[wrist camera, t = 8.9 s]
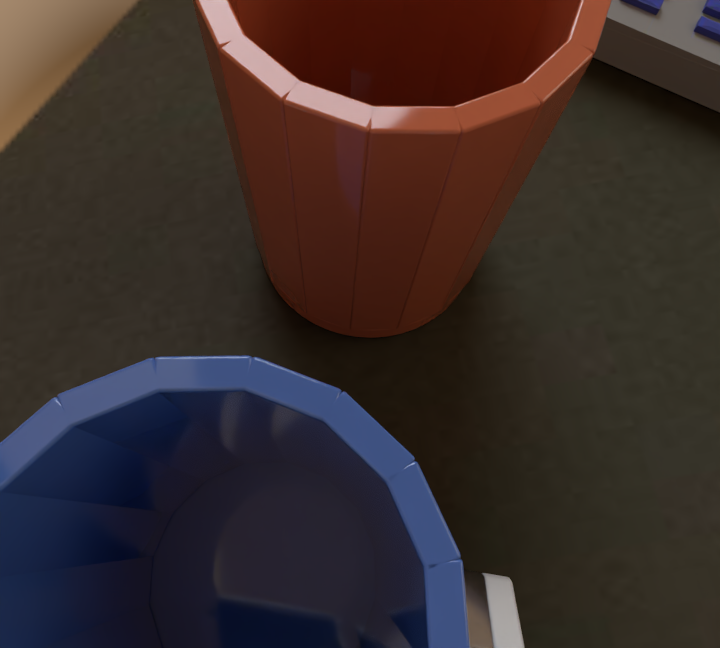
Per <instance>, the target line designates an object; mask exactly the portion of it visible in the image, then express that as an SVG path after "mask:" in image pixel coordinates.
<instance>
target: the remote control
mask: <svg viewBox="0 0 720 648" xmlns="http://www.w3.org/2000/svg"><path fill="white" fill-rule="evenodd" d="M593 58H596V59H598V60H600V61H602V62H605V63H607V64H609V65H612V66H614V67H616V68H619V69H621V70H623V71H625V72H628V73H630V74H632V75H635V76H637V77H639V78H642V79H644V80H646V81H648V82H651V83H653V84H655V85H658V86H660V87H662V88H664V89H667V90H669V91H671V92H674V93H676V94H678V95H681V96H683V97H685V98H687V99H690V100H692V101H694V102H697V103H699V104H701V105H703V106H706V107H708V108H710V109H713V110H715V111H717V112H720V0H612V2H611V5H610V8H609V11H608V14H607V18H606V21H605V24H604V27H603V30H602V34H601V37H600V40H599V43H598V46H597V50H596V53H595V55H594V56H593Z"/></svg>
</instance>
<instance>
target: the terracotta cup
mask: <svg viewBox="0 0 720 648" xmlns="http://www.w3.org/2000/svg"><path fill="white" fill-rule="evenodd" d="M611 2H612V0H193V4H194V7H195V11H196V15H197V19H198V23H199V27H200V30H201V34H202V38H203V42H204V46H205V50H206V53H207V57H208V61H209V65H210V69H211V73H212V76H213V80H214V84H215V88H216V92H217V96H218V100H219V103H220V107H221V111H222V115H223V119H224V123H225V126H226V130H227V134H228V138H229V142H230V146H231V149H232V153H233V157H234V161H235V165H236V169H237V172H238V176H239V180H240V184H241V188H242V192H243V195H244V199H245V203H246V207H247V211H248V215H249V219H250V222H251V226H252V230H253V234H254V238H255V242H256V245H257V248H258V250H259V252H260V255H261V258H262V261H263V264H264V267H265V270H266V273H267V275H268V277H269V279H270V281H271V283H272V285H273V286H274V288H275V289H276V290H277V292H278V293H279V295H280V296H281V297H282V298H283V299H284V301H285V302H286V303H287V304H288V305H289V306H290V307H291V308H292V309H294V310H295V311H296V312H297V313H299V314H300V315H301V316H302V317H304V318H306V319H307V320H309V321H311V322H312V323H314V324H316V325H318V326H320V327H322V328H325V329H327V330H330V331H333V332H336V333H339V334H343V335H348V336H354V337H367V338H375V337H387V336H392V335H397V334H402V333H405V332H408V331H411V330H414V329H416V328H418V327H420V326H422V325H424V324H426V323H428V322H430V321H431V320H433V319H434V318H435V317H437V316H438V315H440V314H441V313H442V312H443V311H444V310H445V309H447V308H448V307H449V306H450V305H451V304H452V302H453V301H454V300H455V299H456V298H457V296H458V295H459V294H460V292H461V290H462V289H463V287H464V286H465V285H466V284H467V283H468V282H469V280H470V279H471V277H472V275H473V273H474V271H475V270H476V268H477V266H478V264H479V262H480V261H481V259H482V257H483V255H484V253H485V252H486V250H487V248H488V246H489V244H490V243H491V241H492V239H493V237H494V235H495V233H496V232H497V230H498V228H499V226H500V224H501V223H502V221H503V219H504V217H505V215H506V214H507V212H508V210H509V208H510V206H511V205H512V203H513V201H514V199H515V197H516V196H517V194H518V192H519V190H520V188H521V186H522V185H523V183H524V181H525V179H526V177H527V176H528V174H529V172H530V170H531V168H532V167H533V165H534V163H535V161H536V159H537V158H538V156H539V154H540V152H541V150H542V149H543V147H544V145H545V143H546V141H547V139H548V138H549V136H550V134H551V132H552V130H553V129H554V127H555V125H556V123H557V121H558V120H559V118H560V116H561V114H562V112H563V111H564V109H565V107H566V105H567V103H568V102H569V100H570V98H571V96H572V94H573V92H574V91H575V89H576V87H577V85H578V83H579V82H580V80H581V78H582V76H583V74H584V73H585V71H586V69H587V67H588V65H589V64H590V62H591V60H592V58H593V56H594V55H595V53H596V50H597V46H598V43H599V40H600V37H601V34H602V30H603V27H604V24H605V21H606V18H607V14H608V11H609V8H610V5H611Z"/></svg>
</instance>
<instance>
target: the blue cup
mask: <svg viewBox="0 0 720 648" xmlns="http://www.w3.org/2000/svg"><path fill="white" fill-rule="evenodd" d="M414 460H415V458H414V456H413V455H412V454H411V453H410V452H409V451H408V450H407V449H406V448H405V447H403V446H402V445H401V444H400V443H399V442H398V441H397V440H396V439H395V438H394V437H393V436H392V435H391V434H390V433H389V432H388V431H387V430H386V429H384V428H383V427H382V426H381V425H380V424H379V423H378V422H377V421H376V420H375V419H374V418H373V417H372V416H371V415H370V414H369V413H368V412H366V411H365V410H364V409H363V408H362V407H361V406H360V405H359V404H358V403H357V402H356V401H355V400H354V399H353V398H352V397H351V396H350V395H348V394H347V393H346V392H344V391H343V392H342V391H341V390H340V389H339V388H337V387H334V386H332V385H329V384H327V383H324V382H321V381H319V380H316V379H314V378H311V377H308V376H306V375H303V374H301V373H298V372H295V371H293V370H290V369H288V368H285V367H283V366H280V365H277V364H275V363H272V362H270V361H267V360H264V359H262V358H259V357H253V358H252V356H249V355H231V356H159V357H156V358H155V359H154V358H149V359H146V360H144V361H141V362H139V363H136V364H134V365H131V366H129V367H126V368H124V369H121V370H118V371H116V372H113V373H111V374H108V375H106V376H103V377H101V378H98V379H95V380H93V381H90V382H88V383H85V384H83V385H80V386H78V387H75V388H72V389H70V390H67V391H65V392H62V393H60V394H59V395H58V397H54V398H52V399H51V400H50V401H49V402H47V403H46V404H45V405H44V406H43V407H42V408H41V409H39V410H38V411H37V412H36V413H35V414H34V415H32V416H31V417H30V418H29V419H28V420H27V421H25V422H24V423H23V424H22V425H21V426H20V427H18V428H17V429H16V430H15V431H14V432H13V433H11V434H10V435H9V436H8V437H7V438H6V439H4V440H3V441H2V442H1V443H0V648H470V641H469V628H468V615H467V603H466V590H465V578H464V565H463V561H462V560H461V559H460V558H461V553H460V551H459V549H458V547H457V545H456V543H455V540H454V538H453V536H452V534H451V532H450V530H449V528H448V525H447V523H446V521H445V519H444V517H443V515H442V513H441V510H440V508H439V506H438V504H437V502H436V500H435V498H434V495H433V493H432V491H431V489H430V487H429V485H428V483H427V480H426V478H425V476H424V474H423V472H422V470H421V468H420V465H419V463H417V462H416V461H414Z"/></svg>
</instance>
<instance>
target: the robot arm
mask: <svg viewBox="0 0 720 648" xmlns="http://www.w3.org/2000/svg"><path fill="white" fill-rule="evenodd" d="M464 578H465V590H466V603H467V615H468V628H469V641H470V648H525V647H524V642H523V637H522V631H521V626H520V621H519V615H518V610H517V605H516V600H515V594H514V589H513V584H512V581H511V580H510V578H509V577H505V576H499V575H493V574H487V573H482V574H481V573H480V572H475V571H469V570H464Z"/></svg>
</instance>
